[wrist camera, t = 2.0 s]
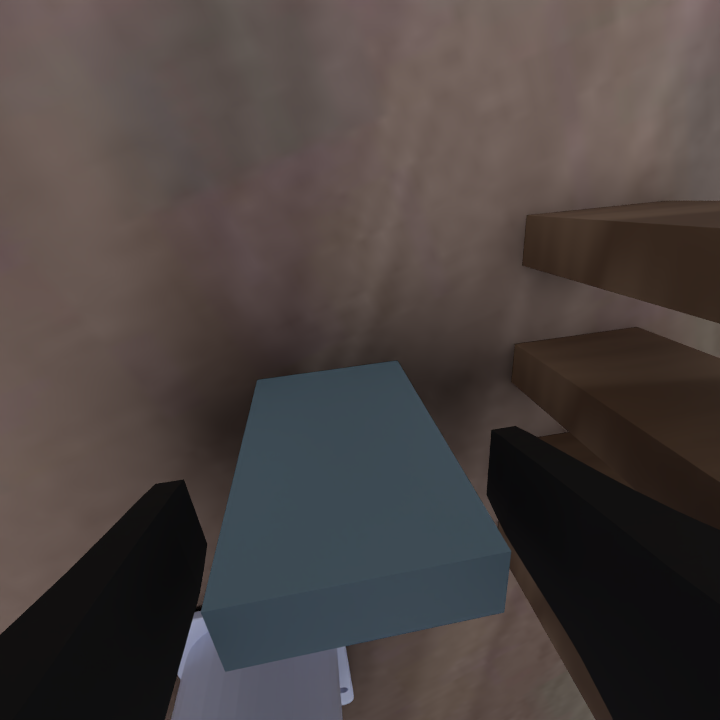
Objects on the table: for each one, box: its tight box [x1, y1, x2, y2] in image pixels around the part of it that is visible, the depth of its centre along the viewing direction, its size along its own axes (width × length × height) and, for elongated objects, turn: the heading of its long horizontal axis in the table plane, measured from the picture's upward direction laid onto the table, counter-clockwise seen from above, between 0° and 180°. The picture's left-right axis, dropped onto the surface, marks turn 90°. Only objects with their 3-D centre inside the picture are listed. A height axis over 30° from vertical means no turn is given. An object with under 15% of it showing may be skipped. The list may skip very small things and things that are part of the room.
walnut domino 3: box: [511, 327, 720, 530], centre depth 11 cm, size 2×5×8 cm, turn 95°
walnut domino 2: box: [522, 201, 720, 323], centre depth 9 cm, size 2×5×8 cm, turn 95°
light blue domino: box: [201, 361, 511, 672], centre depth 10 cm, size 2×5×8 cm, turn 95°
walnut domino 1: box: [498, 521, 613, 720], centre depth 14 cm, size 2×5×8 cm, turn 95°
